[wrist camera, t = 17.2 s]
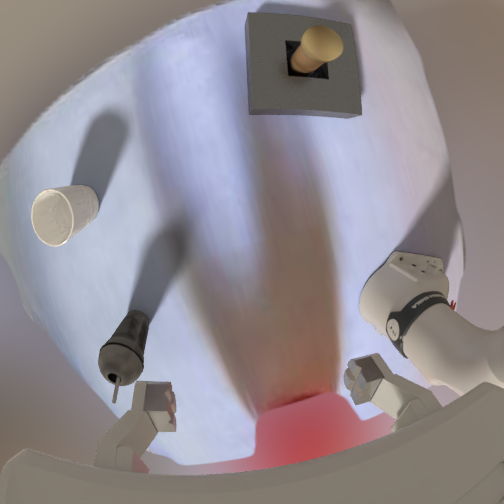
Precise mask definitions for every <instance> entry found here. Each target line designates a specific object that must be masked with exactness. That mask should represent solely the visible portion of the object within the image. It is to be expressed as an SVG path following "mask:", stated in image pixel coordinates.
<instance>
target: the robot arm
mask: <svg viewBox="0 0 504 504" xmlns="http://www.w3.org/2000/svg"><path fill="white" fill-rule="evenodd" d="M400 258H401V259H400ZM448 293H449V280H448V278H447V276H446V275H445V274H443V262H442V260H441V259H440V258H438V257H432V256H426V255H419V254H412V253H406V252H399V251H395V252H393V253H392V254H391V255H390V257H389V258H388V260H387V261H386V263H385V264H384V265H383V266H382V267H381V268H380V269H378V270H377V271H376V272H375V273H374V274H373V275H372V276H371V277H370V279H369V280H368V281H367V283H366V285H365V286H364V288H363V291H362V293H361V297H360V302H359V309H360V314H361V316H362V318H363V319H364V320H365V321H366V322H367V323H369V324H371V325H372V326H374V327H375V329H376V331H377V332H378V333H379V334H381V335H384V336H385V337H386V338H387V339H389V340H390V341H391V342H392V343H393V345H394V346H395V348H396V349H397V350H398V351H399V353H400V354H401V355H403V356H404V357H405V358H407V359H409V360H410V361H411V362H412V364H413V365H414V366H415V367H416V368H417V370H418V371H419V372H420V373H421V375H422V376H423V377H424V378H425V379H426V381H427V382H428V383H430V384H432V385H443V384H444V385H446V386H447V387H449V388H451V389H452V390H454V391H455V392H457V394H458V395H459V396H460V397H459V398H458V399H456V400H454V401H453V402H451V403H449V404H448V405H446V406H445V407H442V406H441V404H440V403H439V402H438V400H437V399H436V397H435V396H434V395H433V393H432V392H431V391H430V390H428V389H426V388H424V387H421V386H419V385H417V384H415V383H413V382H411V381H409V380H407V379H405V378H403V377H401V376H399V375H397V374H393V373H392V372H391V370H390V369H389V367H388V366H387V364H386V363H385V361H384V360H383V359H382V357H381V356H380V354H378V353H374V354H371V355H366V356H362V357H358V358H355V359H351V360H350V361H349V362H348V367H349V368H348V369H347V370H346V371H345V373H344V383H345V386H346V388H347V389H348V390H350V391H351V395H350V396H351V397H352V399H353V401H354V403H355V405H358V404H362V403H365V402H369V401H370V402H371V403H373V404H374V405H375V406H377V407H378V408H380V409H381V410H383V411H384V412H386V413H387V414H388V415H390V416H391V417H393V418H394V419H396V422H395V423H394V424H393V426H392V427H391V430H392V433H390V434H388V435H385V436H383V437H380V438H378V439H375V440H373V441H370V442H367V443H365V444H362V445H359V446H356V447H353V448H350V449H347V450H344V451H341V452H337V453H334V454H330V455H327V456H323V457H320V458H316V459H312V460H308V461H303V462H299V463H294V464H289V465H284V466H279V467H273V468H268V469H261V470H253V471H245V472H236V473H224V474H207V475H168V474H165V475H164V474H150V473H149V468H148V467H147V466H146V465H145V464H144V463H143V461H142V460H141V459H140V458H141V456H142V455H143V453H144V452H145V451H146V449H147V448H148V446H149V445H150V443H151V442H152V441H153V439H154V438H155V436H156V435H157V433H158V432H176V418H175V415H174V413H175V412H176V399H175V395H174V392H173V391H172V385H171V382H155V381H136V383H135V388H134V394H133V401H132V408H131V411H130V410H128V411H127V412H126V413H125V414H124V415H123V416H122V417H121V418H120V419H119V420H118V422H117V423H116V424H115V425H114V426H113V427H112V428H111V429H110V430H109V431H108V432H107V433H106V434H105V435H104V436H103V437H102V438H101V439H100V440H99V441H98V444H97V450H96V456H95V464H94V466H91V465H86V464H82V463H77V462H73V461H69V460H65V459H61V458H58V457H55V456H51V455H48V454H44V453H42V452H39V451H36V450H33V449H24V450H22V451H21V452H19V453H18V454H16V455H15V456H14V457H12V458H11V459H10V460H9V461H7V462H6V464H5V465H4V467H3V470H2V472H1V475H0V504H504V326H503V327H501V328H500V329H498V330H494V331H491V330H485V329H482V328H479V327H477V326H475V325H473V324H471V323H470V322H469V321H467V320H466V319H465V318H463V317H462V316H460V315H459V314H458V313H457V312H455V311H454V309H455V305H456V302H455V304H454V306H453V300H452V302H451V305H449V303H448V301H447V298H448Z"/></svg>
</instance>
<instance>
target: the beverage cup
mask: <svg viewBox="0 0 504 504" xmlns="http://www.w3.org/2000/svg"><path fill="white" fill-rule="evenodd" d="M148 327H149V319H148V317H147V316H146V315H145V314H144V313H142V312H140V311H136V310H134V311H131V312H129V313H128V314H127V316H126V317H125V318H124V319H123V321H122V322H121V324H120V325H119V327H118V328H117V329H116V331H115V332H114V334H113V335H112V337H111V338H110V339H109V340H108V341H107V342H106V343H105V345H103V346H102V347H101V349H100V353H99V360H98V365H99V368H100V371H101V373H102V375H103V376H104V378H105V379H106V380H107V381H109V382H110V383H112V384H114V385H115V390H114V395H113V400H112V402H113V403H116V399H117V393H118V388H119V386H126V385H129V384H132V383H134V382H135V381H136V380H137V379H138V378H139V376H140V374H141V373H142V372H143V368H144V365H143V363H144V357H143V355H144V350H145V344H146V339H147V334H148V329H149V328H148Z"/></svg>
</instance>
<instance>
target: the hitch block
mask: <svg viewBox="0 0 504 504" xmlns="http://www.w3.org/2000/svg"><path fill="white" fill-rule="evenodd" d="M316 25H321V26H326V27H328V28H330V29H332V30H334V31H335V32H336V33H337V34H338V35H339V36H340V38H341V39H342V42H343V52H342V53H341V55H340V56H339V57H337V58H336V59H335V60H333V61H331V62H328V63H323V64H322V65H321V66H320V67H318V68H317V69H316V76H317V78H309V77H296V76H288V68H287V55H286V52H287V53H294V52H295V51H296V49H297V48H298V47H299V46H300V41H301V37H302V35H303V34H304V33H305V32H306V30H307V29H308V28H310V27H312V26H316ZM245 42H246V63H247V84H248V105H249V115H307V116H324V117H336V118H347V119H348V118H352V117H356V116H360V115H362V105H361V93H360V82H359V73H358V64H357V57H356V49H355V43H354V37H353V31H352V25H350V24H346V23H341V22H336V21H331V20H325V19H319V18H313V17H305V16H297V15H287V14H275V13H250V12H248V14H247V19H246V23H245Z"/></svg>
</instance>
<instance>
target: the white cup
mask: <svg viewBox="0 0 504 504" xmlns="http://www.w3.org/2000/svg"><path fill="white" fill-rule="evenodd" d="M98 210H99V200H98V198H97V195H96V193H95V192H94V191H93V190H92V189H91V188H90V187H89V186H85V185H71V186H63V187H58V188H52V189H46V190H44V191H42V192H41V193H40V194H39V195H38V196H37V197H36V199H35V200H34V203H33V206H32V211H31V219H32V225H33V228H34V230H35V233H36V234H37V236H38V237H39V238H40V240H41V241H43V242H44V243H45V244H47V245H50V246H60V245H62V244H64V243H65V242H67V241H68V240H69V239H71V238H72V237H73V236H75V235H76V234H77V233H79V232H80V231H81V230H82V229H84V228H85V227H86V226H87V225H88V224H90V223H91V222H92V221H93V220H94V219H95V218H96V215H97V213H98Z"/></svg>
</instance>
